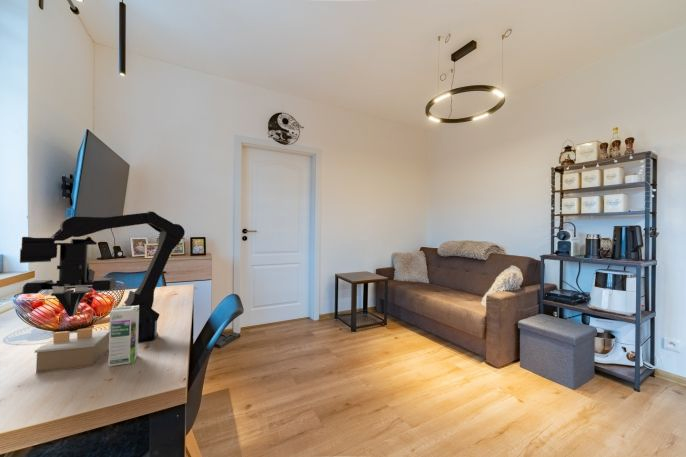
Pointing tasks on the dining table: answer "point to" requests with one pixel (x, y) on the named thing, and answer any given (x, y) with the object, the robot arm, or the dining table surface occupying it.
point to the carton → (71, 357)
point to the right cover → (87, 334)
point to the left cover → (67, 342)
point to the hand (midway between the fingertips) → (71, 315)
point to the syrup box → (123, 335)
